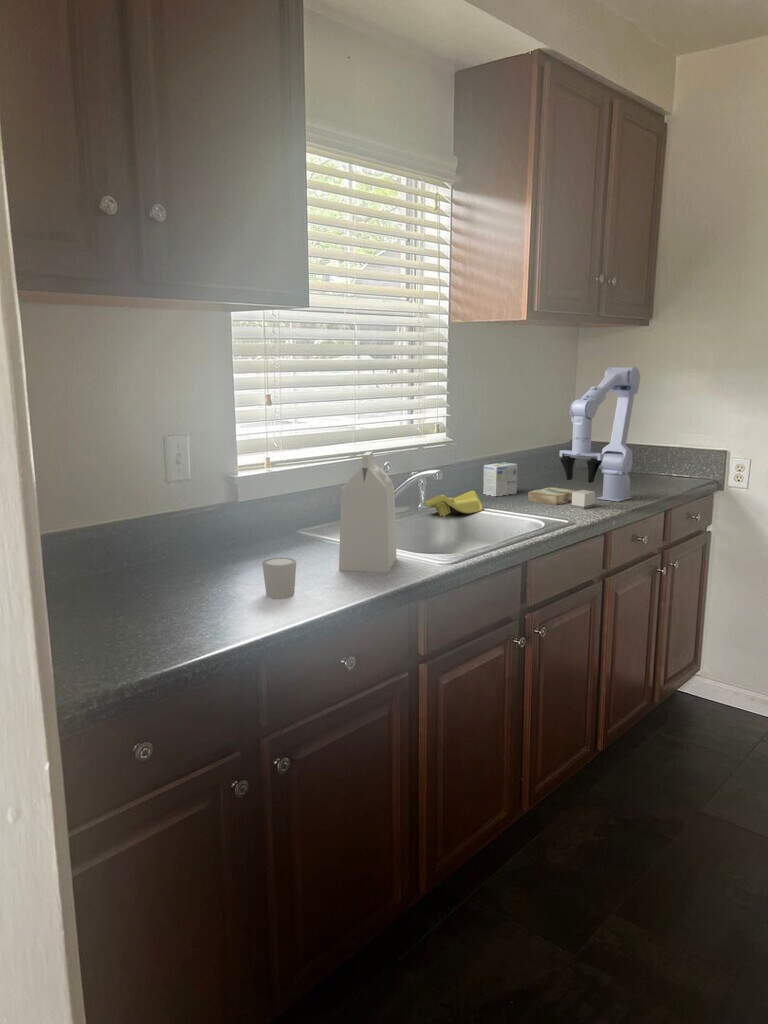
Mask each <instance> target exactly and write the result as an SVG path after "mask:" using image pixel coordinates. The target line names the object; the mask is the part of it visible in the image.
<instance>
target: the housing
mask: <svg viewBox="0 0 768 1024" xmlns="http://www.w3.org/2000/svg"><path fill="white" fill-rule="evenodd" d="M595 498H596V491H593V490H586V489H581V490H579V491H576V492H572V501H571V505H570V506H571V507H572V509H578V508H581V509H580V510H586V509H585V508H587V509H589V508H588V507H591V508H593V507H592V506H594V507H596V503H595ZM571 507H570V508H571Z"/></svg>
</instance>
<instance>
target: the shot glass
mask: <svg viewBox="0 0 768 1024" xmlns="http://www.w3.org/2000/svg"><path fill="white" fill-rule="evenodd" d="M261 564H262V571H263V579H264V585H265V593H266V597H267V598H269V599H272V600H283V599H290V598H292V597H294V596H295V588H296V574H297V572H296V571H297V570H296V569H297V560H296V559H293V558H289V557H275V558H268V559H265V560H263V561H262V563H261Z"/></svg>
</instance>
